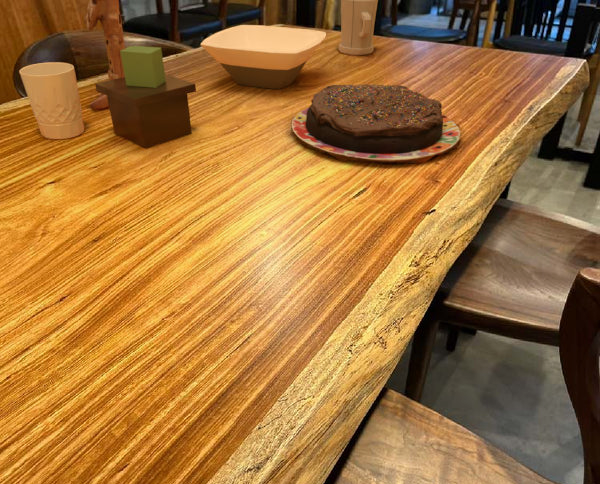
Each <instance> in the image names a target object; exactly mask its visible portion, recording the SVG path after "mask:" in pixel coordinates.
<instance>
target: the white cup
mask: <svg viewBox="0 0 600 484" xmlns="http://www.w3.org/2000/svg"><path fill="white" fill-rule="evenodd" d="M18 73H19V75H20V79H21V81H22V84H23V87H24V90H25V93H26V96H27V99H28V101H29V105H30V107H31V109H32V114H33V116H34V117H35V119H36V122H37V125H38V129H39V132H40V134H41V136H42V137H44V138H45V139H50V140H65V139H66V140H67V139H72V138H75V137H77V136H80V135H82V134H84V133H85V122H84V119H83V109H82V103H81V97H80V92H79V85H78V81H77V76H76V70H75V67H74V65H73V64H71V63H68V62H62V61H61V62H60V61H53V62H51V61H50V62H39V63H34V64H29V65H26V66H24V67H22V68H20V69H19V71H18Z"/></svg>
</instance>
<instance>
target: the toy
mask: <svg viewBox="0 0 600 484" xmlns="http://www.w3.org/2000/svg"><path fill="white" fill-rule="evenodd" d="M120 53H121V58H122V64H123V69H124V75H125V81H126V85H127V86H138V87H150V88H157V87H158V86H160V85H161V84H163V83H164V82H166V79H165V74H166V73H165V66H164V59H163V50H162V47H157V46H156V47H155V46H141V45H130V46H128V47H125V49H123V50H121V51H120Z"/></svg>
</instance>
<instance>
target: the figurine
mask: <svg viewBox="0 0 600 484" xmlns="http://www.w3.org/2000/svg"><path fill="white" fill-rule="evenodd" d="M119 3H120V2H119V0H89V1H88V4H87V7H86V8H87V9H86V10H87V12H86V13H85V14H84V16H83V22H84V23H85V24H86V27H87V30H89V31H91V32H92V31H94V29H95V27H96V26H97V24H98V22H100V24H101V26H102V30H103V36H104V40H105V41H104V42H105V47H106V54H107V59H108V65H109V68H108V69H107V77H108V81H110V80H114V79H118V78H123V77H125V75H124V69H123V64H122V58H121V53H120V51H121V50H123V49H126V44H125V38H124V33H123V20H122V15H121V13H120V4H119ZM89 107H90V109H91V110H101V109H102V110H103V109H106V108H109V104H108V99H107V95H105V94H102V93H100V94H99V96H98V98H96V99H94V100H93V101H91V102H90V104H89Z"/></svg>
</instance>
